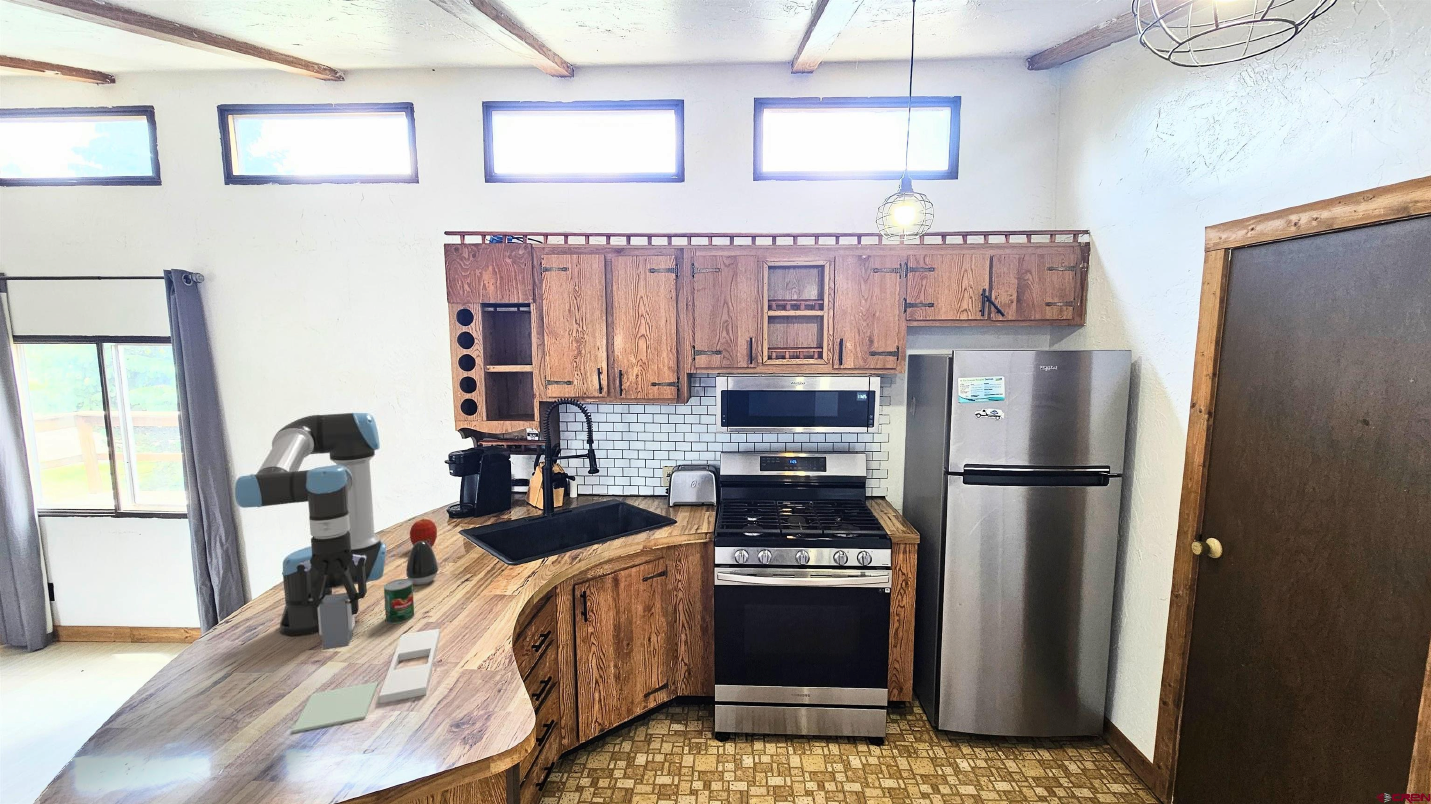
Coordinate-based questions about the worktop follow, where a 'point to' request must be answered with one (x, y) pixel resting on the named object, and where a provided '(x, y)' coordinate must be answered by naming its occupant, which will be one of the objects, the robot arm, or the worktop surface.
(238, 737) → the worktop surface
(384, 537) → the worktop surface
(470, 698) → the worktop surface
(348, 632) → the square block
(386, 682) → the rail
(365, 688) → the pad
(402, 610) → the canned tomato
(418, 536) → the apple
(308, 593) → the robot arm
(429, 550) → the black rounded cone
